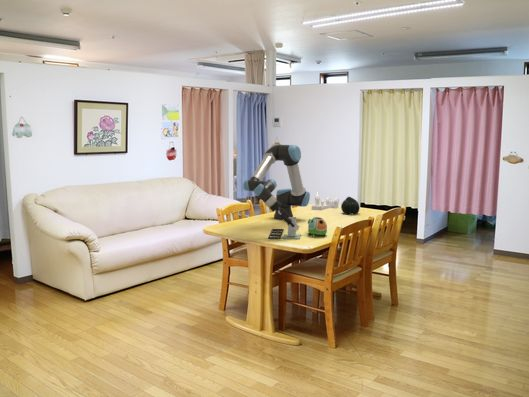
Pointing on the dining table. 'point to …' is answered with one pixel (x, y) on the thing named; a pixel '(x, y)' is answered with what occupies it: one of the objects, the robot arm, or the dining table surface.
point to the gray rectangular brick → (290, 229)
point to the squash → (350, 206)
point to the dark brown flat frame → (276, 233)
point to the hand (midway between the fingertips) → (297, 229)
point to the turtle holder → (317, 226)
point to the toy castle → (328, 203)
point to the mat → (291, 236)
